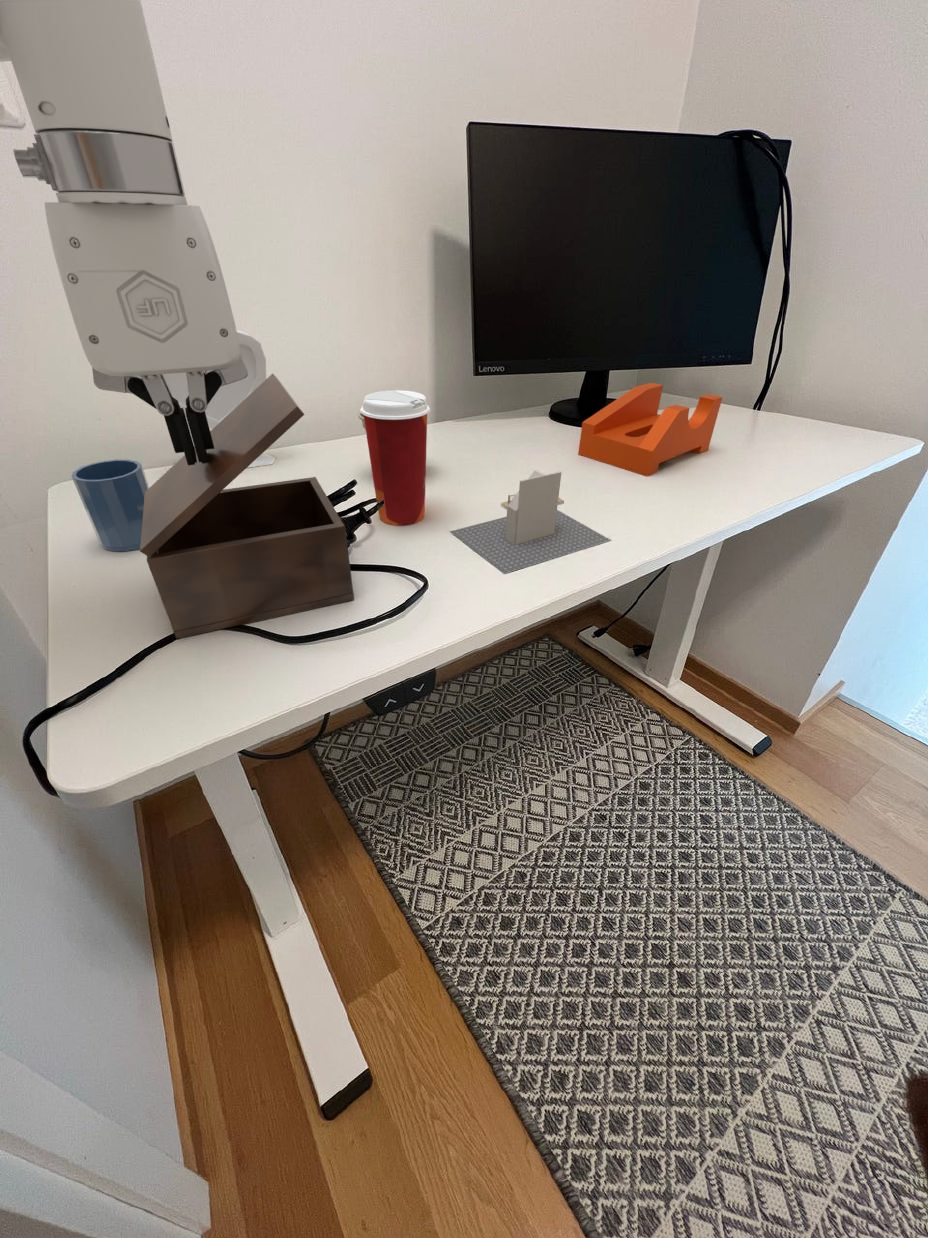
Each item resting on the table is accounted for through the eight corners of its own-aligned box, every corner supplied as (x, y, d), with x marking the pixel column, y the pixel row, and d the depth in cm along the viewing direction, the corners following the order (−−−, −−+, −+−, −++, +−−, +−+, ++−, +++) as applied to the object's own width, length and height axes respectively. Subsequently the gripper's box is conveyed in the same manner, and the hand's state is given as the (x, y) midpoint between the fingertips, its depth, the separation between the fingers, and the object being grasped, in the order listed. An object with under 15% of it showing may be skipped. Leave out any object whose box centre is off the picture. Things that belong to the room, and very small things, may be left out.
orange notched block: (641, 432, 97) (651, 382, 92) (707, 450, 89) (722, 396, 84) (578, 454, 87) (585, 399, 82) (647, 476, 79) (659, 417, 74)
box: (325, 543, 61) (315, 476, 57) (354, 600, 52) (344, 525, 47) (174, 570, 56) (149, 499, 51) (176, 639, 47) (146, 559, 42)
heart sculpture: (173, 478, 76) (129, 335, 66) (171, 467, 80) (129, 330, 70) (285, 462, 82) (261, 328, 72) (278, 452, 86) (254, 323, 76)
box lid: (279, 380, 50) (272, 372, 50) (304, 414, 41) (297, 406, 41) (152, 497, 51) (144, 492, 51) (149, 557, 42) (139, 551, 41)
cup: (98, 556, 58) (67, 484, 54) (103, 531, 63) (75, 463, 58) (164, 545, 60) (140, 475, 56) (164, 522, 65) (142, 456, 60)
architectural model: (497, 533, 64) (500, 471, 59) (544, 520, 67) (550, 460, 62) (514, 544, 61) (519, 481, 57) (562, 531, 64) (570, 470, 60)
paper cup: (444, 512, 68) (443, 394, 60) (407, 535, 63) (400, 410, 55) (395, 498, 72) (388, 385, 63) (356, 519, 66) (342, 399, 58)
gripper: (-42, 166, 29) (91, 488, 40) (246, 178, 34) (296, 461, 45) (-9, 176, 35) (100, 457, 46) (235, 185, 40) (282, 436, 51)
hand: (197, 458), depth 45 cm, fingers closed
